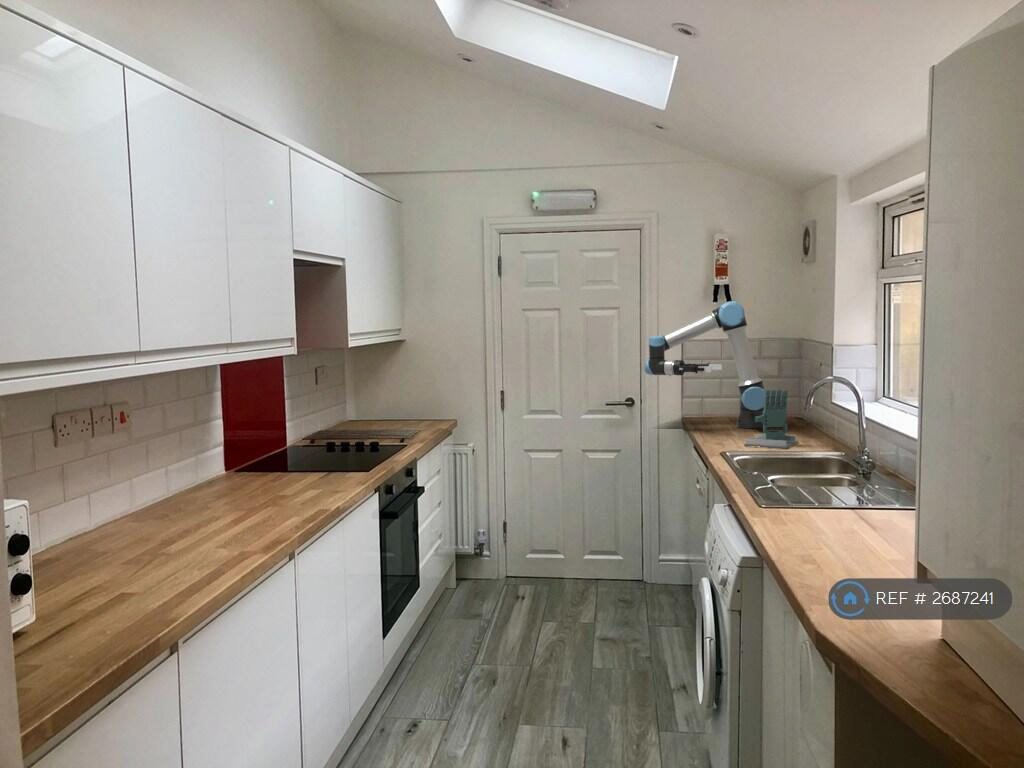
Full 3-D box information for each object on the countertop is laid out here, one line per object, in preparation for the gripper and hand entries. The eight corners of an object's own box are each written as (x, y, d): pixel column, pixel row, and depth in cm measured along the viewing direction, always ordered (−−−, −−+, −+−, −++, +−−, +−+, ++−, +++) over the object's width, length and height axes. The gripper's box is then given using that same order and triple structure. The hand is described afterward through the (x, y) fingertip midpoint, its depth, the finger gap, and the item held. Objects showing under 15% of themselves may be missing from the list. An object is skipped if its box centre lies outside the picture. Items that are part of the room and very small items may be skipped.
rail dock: (757, 440, 367) (757, 432, 367) (798, 442, 357) (798, 435, 357) (744, 446, 353) (744, 438, 352) (785, 449, 342) (785, 441, 342)
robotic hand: (752, 446, 355) (757, 395, 344) (753, 435, 364) (758, 385, 353) (785, 450, 351) (792, 399, 340) (786, 438, 360) (792, 388, 349)
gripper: (685, 373, 407) (726, 373, 395) (664, 377, 387) (707, 378, 375) (685, 358, 407) (726, 358, 395) (664, 361, 386) (706, 362, 374)
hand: (716, 368), depth 385 cm, fingers open, 13 cm apart
